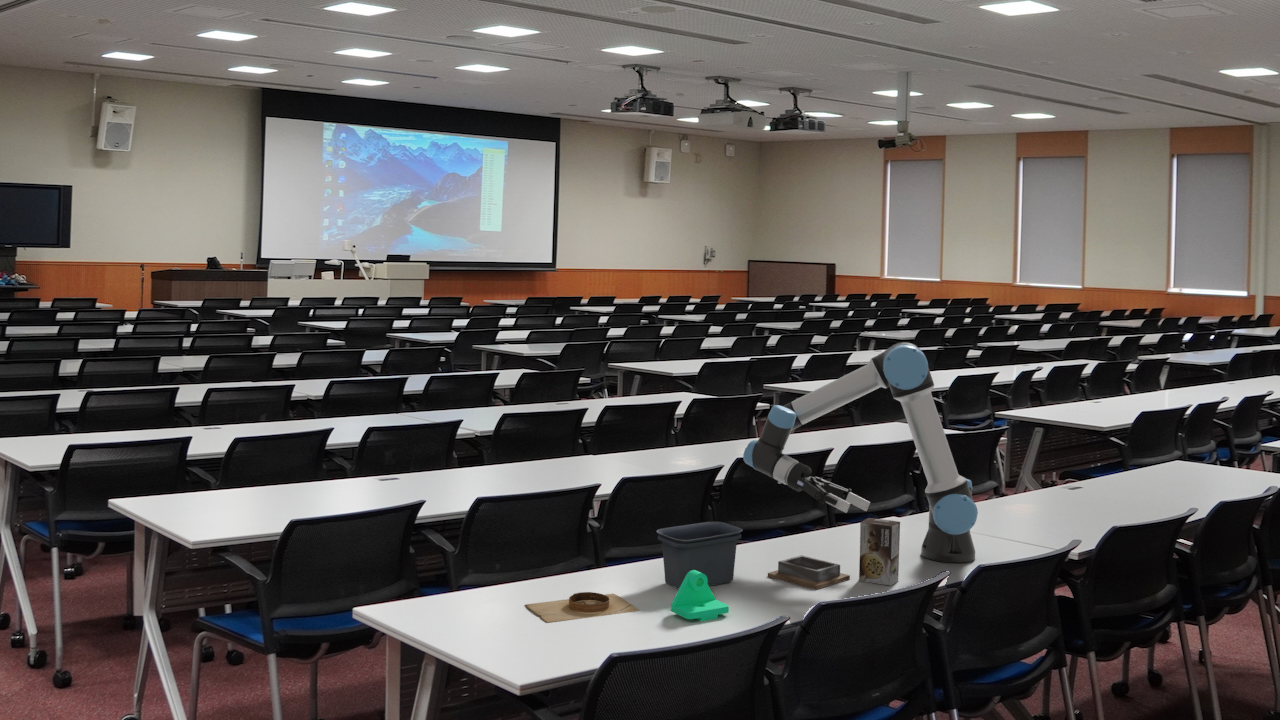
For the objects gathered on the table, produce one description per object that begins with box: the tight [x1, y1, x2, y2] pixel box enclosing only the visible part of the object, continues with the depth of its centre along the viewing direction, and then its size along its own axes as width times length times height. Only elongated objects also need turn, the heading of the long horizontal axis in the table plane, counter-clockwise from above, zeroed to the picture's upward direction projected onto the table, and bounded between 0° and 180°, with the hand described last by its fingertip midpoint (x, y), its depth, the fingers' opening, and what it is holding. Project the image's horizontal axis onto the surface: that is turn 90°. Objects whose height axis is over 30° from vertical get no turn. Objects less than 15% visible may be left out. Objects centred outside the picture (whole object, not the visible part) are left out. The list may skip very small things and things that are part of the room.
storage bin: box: [656, 521, 744, 590], centre depth 304 cm, size 21×16×14 cm
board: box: [524, 591, 640, 624], centre depth 281 cm, size 25×15×3 cm, turn 117°
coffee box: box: [858, 517, 901, 586], centre depth 308 cm, size 9×6×16 cm
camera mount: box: [670, 570, 730, 622], centre depth 276 cm, size 12×8×10 cm, turn 121°
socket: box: [767, 554, 851, 590], centre depth 310 cm, size 15×16×4 cm
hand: (858, 507), depth 314 cm, fingers open, 13 cm apart
